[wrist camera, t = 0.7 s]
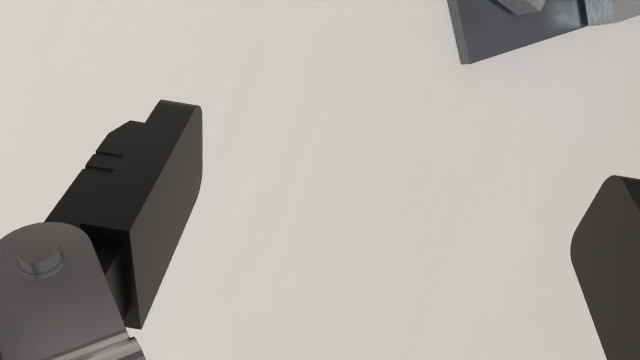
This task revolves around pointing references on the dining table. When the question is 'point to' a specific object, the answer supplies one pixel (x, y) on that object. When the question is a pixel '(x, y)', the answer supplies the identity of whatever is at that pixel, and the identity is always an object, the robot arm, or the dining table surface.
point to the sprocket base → (509, 26)
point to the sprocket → (601, 7)
